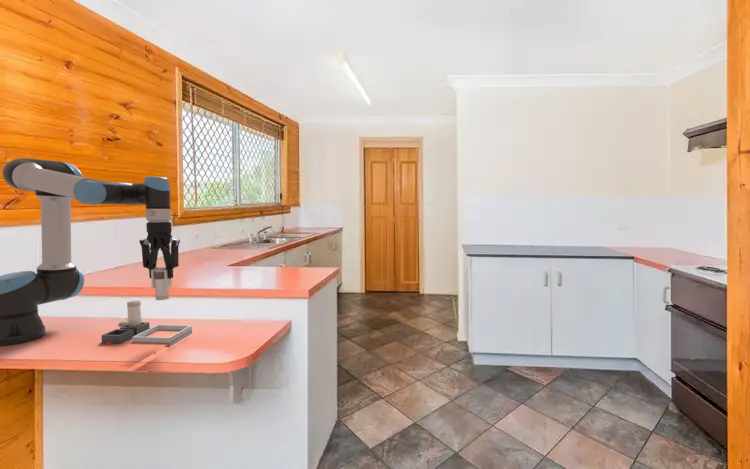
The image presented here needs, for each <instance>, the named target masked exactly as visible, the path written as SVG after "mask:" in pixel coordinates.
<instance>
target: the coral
mask: <svg viewBox="0 0 750 469" xmlns="http://www.w3.org/2000/svg"><path fill="white" fill-rule="evenodd" d="M127 324H128V317H126V318H125V320H122V321H119V323H118V325H119V326H120V327H122V326H125V325H127Z"/></svg>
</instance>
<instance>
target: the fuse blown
mask: <svg viewBox="0 0 750 469" xmlns="http://www.w3.org/2000/svg"><path fill="white" fill-rule="evenodd" d="M165 269H166V266H163V267H162V266H161V267H157V268H154V275H155V288H154V291H155V292H154V293H155V300H156V301H166V300H169V299H170V295H169V288H165V281H164V270H165Z"/></svg>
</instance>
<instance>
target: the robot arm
mask: <svg viewBox="0 0 750 469" xmlns="http://www.w3.org/2000/svg"><path fill="white" fill-rule="evenodd" d="M1 172H2V173H1V174H2V178H3V180H4V182H6V184H7V185H8V186H10V187H12V188H14V189H16V190H22V191H27V192H34V193H35V194H34V195H35V197H36V198H38V199H39V200H40V210H41V211H40V216H41V217H40V218H41V220H40V221H41V263H40V264H38V266H37V267H36V271H32V270H24V271H22V270H21V271H18V272H10V273H7V274H5V273H4V274H1V275H0V346H1V347H2V346H10V345H17V344H22V343H26V342H30V341H33V340H36V339H39V338H41V337H43V336H45V335H46V334H47V330H46V329H47V328H46V326H45V325H44V323H43V320H42V319H41V316H40V315H39V307H38V306H39V305H43V304H47V303H48V304H49V303H52V302H57V301H65V300H67V299H70V298H73V297H76V296H78V295H79V293H81V291H82V290H83V288H84V284H85V276H84V274H83V272H82V271H81V270H80V269H79V268H77V264H75V263H74V262H72V214H71V213H72V208H71V207H72V206H71V205H72V204H71V203H72V201H73V200H77V201H78V202H79V203H81V204H86V205H87V204H88V205H92V206H93V205H125V206H134V205H135V206H138V205H145V220H146V221H147V222H146V224H145V226H146V233H147V236H146V238H144V239H139V241H138V242H139V244H140V246H141V256H142V257H141V258H142V267H143V268H144V269H145V268H146V269H148V272H149V273H148V274H149V275H148V276H149V279H151V289H155V275H154V268H158V266H157V262H158V256H159V250H160V251H161V254H162V257H163V260H164V265H165V266H164V267H166V269H165V270H164V281H165V288H168V289H171V288H172V287H173V286H172V285H173V284H172V279H174V269H175V268H178V267H179V261H180V260H179V245H180V242H181V240H180V239H176V238H174V237H173V235H172V230H173V228H172V222H171V221H172V210H171V185H170V180H169V178H167V177H164V176H146V177H144V178H143V179H144V180H143V183H142V182H137V183H136V182H133V183H132V182H121V181H120V182H119V181H107V180H100V179H99V180H98V179H93V178H90V177H84V176H83V174H82V172H81V171H80V169H79V168H78V167H77V166H76V165H74V164H72V163H69V162H64V161H57V160H56V161H55V160H47V159H37V158H30V157H29V158H28V157H26V158H25V157H22V158H21V157H20V158H16V159H12V160H10V161H9V162H7V163H5V164H4V166H3V169H2V170H1Z"/></svg>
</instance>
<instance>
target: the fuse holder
mask: <svg viewBox="0 0 750 469" xmlns="http://www.w3.org/2000/svg"><path fill="white" fill-rule="evenodd" d="M150 328H151V327H150V321H149V322H148V321H147V322H146V321H141V325H140V326H138V327H128V324H127V325H122V326H120V327H119V328H116V329H113V330H111V331H108V332H106V333H104V334H102V335H101V342H99V345H100V344H106V345H120V344H122V343H124V342H126V341H129V340H130V339H131V340H132V337H133V336H135V335H137V334H139V333H142V332H144V331H146V330H148V329H150Z"/></svg>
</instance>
